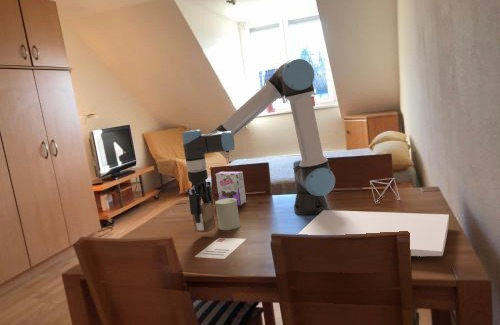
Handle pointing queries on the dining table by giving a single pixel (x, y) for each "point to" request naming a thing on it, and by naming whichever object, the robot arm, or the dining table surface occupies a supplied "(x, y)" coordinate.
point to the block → (206, 217)
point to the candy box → (231, 186)
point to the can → (227, 214)
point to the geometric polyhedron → (385, 188)
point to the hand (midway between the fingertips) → (205, 227)
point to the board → (386, 227)
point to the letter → (220, 248)
